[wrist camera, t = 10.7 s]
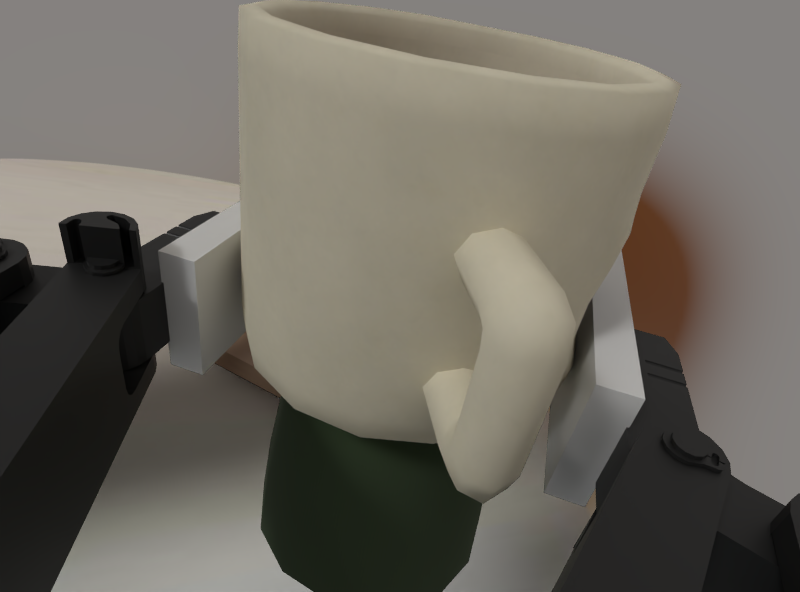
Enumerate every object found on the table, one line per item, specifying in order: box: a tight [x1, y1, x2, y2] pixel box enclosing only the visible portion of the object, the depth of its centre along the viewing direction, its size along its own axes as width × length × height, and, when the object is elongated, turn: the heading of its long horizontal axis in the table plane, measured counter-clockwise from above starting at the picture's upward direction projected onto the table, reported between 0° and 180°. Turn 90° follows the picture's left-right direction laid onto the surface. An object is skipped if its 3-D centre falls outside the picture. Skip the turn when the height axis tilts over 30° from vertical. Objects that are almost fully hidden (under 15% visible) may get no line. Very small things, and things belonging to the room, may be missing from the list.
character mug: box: [238, 0, 681, 592], centre depth 12 cm, size 11×7×13 cm, turn 9°
